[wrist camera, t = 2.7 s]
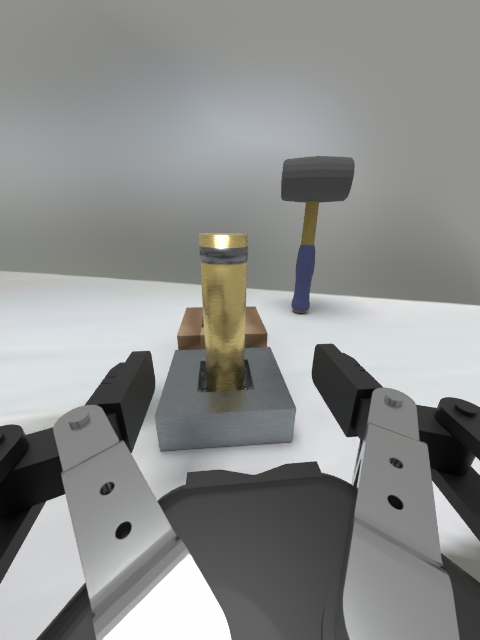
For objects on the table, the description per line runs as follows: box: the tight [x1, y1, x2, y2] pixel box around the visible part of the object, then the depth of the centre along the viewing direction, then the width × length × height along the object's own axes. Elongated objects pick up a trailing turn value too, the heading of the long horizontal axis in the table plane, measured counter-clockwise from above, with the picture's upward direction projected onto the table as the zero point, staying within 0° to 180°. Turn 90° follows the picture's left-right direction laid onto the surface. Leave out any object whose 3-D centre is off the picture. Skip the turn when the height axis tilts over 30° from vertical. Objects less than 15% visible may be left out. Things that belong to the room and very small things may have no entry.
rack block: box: [177, 307, 267, 350], centre depth 38 cm, size 12×11×5 cm
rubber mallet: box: [281, 156, 354, 313], centre depth 49 cm, size 12×8×30 cm, turn 79°
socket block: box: [155, 347, 296, 451], centre depth 26 cm, size 12×11×4 cm
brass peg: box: [200, 233, 248, 392], centre depth 23 cm, size 4×4×18 cm
